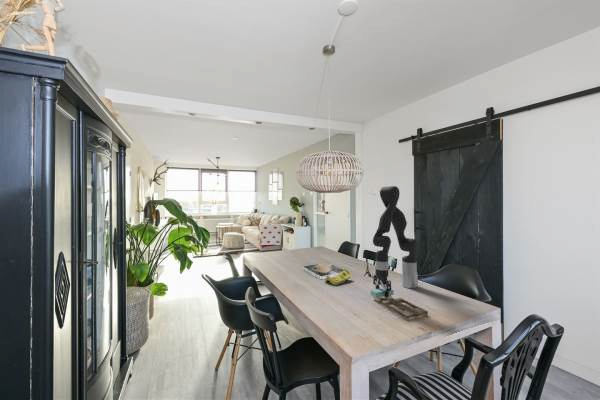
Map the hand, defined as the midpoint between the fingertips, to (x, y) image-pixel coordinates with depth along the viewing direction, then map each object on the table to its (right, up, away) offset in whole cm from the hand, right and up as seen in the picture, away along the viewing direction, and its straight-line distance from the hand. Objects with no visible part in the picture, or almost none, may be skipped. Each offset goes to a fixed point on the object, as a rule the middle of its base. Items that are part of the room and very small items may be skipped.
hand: (381, 294), depth 163 cm
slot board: (+6, -3, -17) cm, 18 cm away
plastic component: (-21, -3, +35) cm, 41 cm away
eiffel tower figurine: (+4, -3, +49) cm, 49 cm away
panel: (0, -3, 0) cm, 3 cm away
